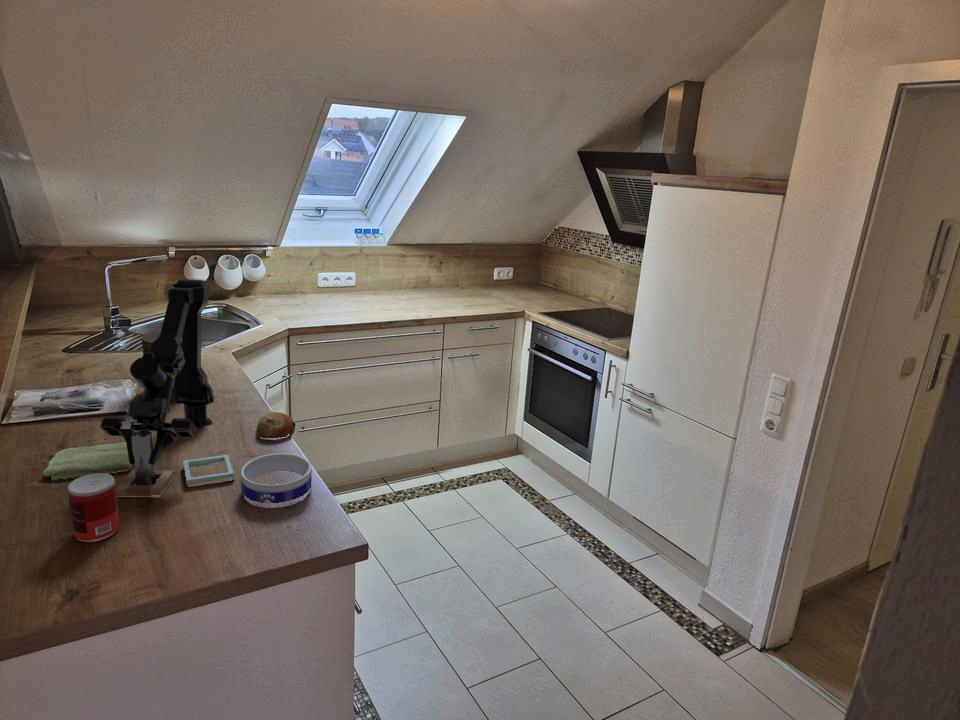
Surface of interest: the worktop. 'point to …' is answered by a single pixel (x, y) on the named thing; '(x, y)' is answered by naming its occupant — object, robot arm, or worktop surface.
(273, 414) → the bread roll
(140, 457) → the steel pin
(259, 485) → the dog bowl
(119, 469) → the washcloth
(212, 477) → the cradle tray
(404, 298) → the worktop surface
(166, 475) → the walnut collar
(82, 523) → the canned food
